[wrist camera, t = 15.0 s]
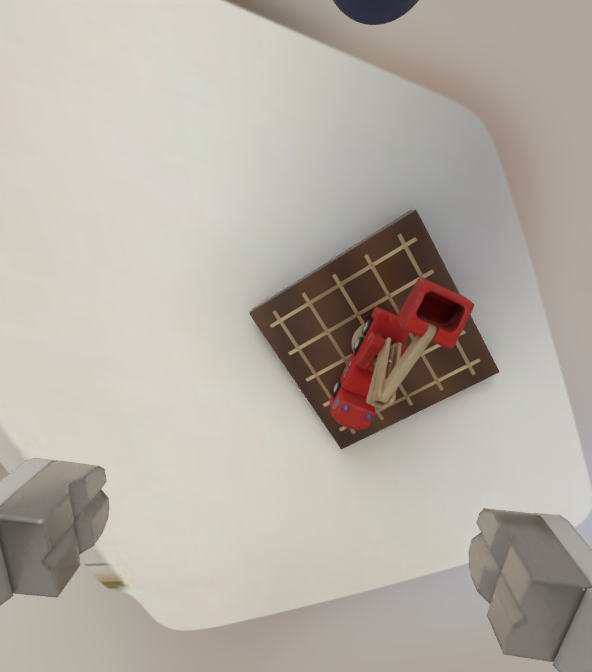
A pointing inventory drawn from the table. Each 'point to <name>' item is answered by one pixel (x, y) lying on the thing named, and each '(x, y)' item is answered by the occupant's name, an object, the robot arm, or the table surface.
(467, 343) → the board
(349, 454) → the table surface
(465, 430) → the table surface
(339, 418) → the toy fire truck
